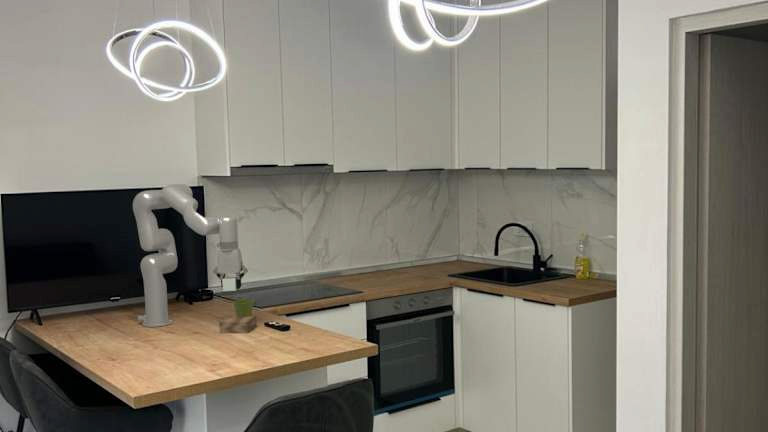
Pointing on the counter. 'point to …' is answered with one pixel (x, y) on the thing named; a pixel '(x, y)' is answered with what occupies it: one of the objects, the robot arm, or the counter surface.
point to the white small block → (229, 284)
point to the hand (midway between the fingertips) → (231, 288)
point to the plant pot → (243, 307)
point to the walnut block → (238, 324)
